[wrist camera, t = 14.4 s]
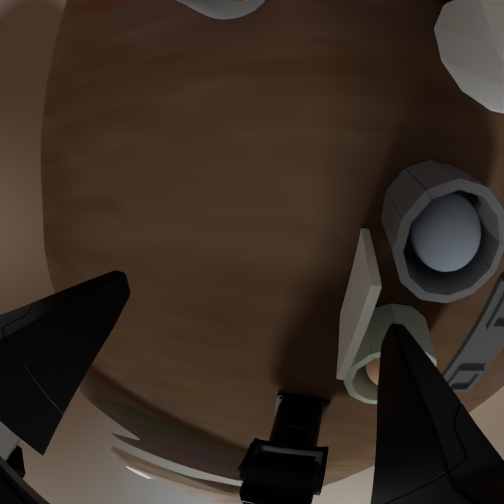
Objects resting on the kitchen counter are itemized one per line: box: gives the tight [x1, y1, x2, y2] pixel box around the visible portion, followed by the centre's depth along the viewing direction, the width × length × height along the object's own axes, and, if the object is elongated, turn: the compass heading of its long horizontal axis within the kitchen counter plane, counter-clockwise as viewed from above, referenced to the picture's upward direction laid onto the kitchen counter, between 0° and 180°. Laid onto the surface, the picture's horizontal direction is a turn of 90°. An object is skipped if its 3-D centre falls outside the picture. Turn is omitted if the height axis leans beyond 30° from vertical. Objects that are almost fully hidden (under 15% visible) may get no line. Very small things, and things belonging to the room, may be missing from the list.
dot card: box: [336, 228, 382, 380], centre depth 18 cm, size 8×1×7 cm, turn 179°
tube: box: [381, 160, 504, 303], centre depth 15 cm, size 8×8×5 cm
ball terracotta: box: [365, 357, 380, 385], centre depth 20 cm, size 5×5×5 cm
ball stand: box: [442, 278, 504, 393], centre depth 20 cm, size 16×6×1 cm, turn 179°
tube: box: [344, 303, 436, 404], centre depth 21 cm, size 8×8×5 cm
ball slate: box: [409, 192, 481, 272], centre depth 15 cm, size 5×5×5 cm
